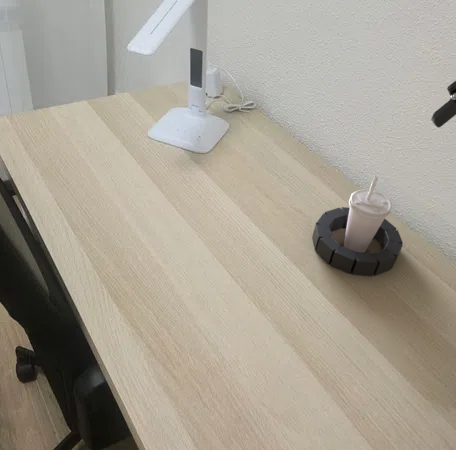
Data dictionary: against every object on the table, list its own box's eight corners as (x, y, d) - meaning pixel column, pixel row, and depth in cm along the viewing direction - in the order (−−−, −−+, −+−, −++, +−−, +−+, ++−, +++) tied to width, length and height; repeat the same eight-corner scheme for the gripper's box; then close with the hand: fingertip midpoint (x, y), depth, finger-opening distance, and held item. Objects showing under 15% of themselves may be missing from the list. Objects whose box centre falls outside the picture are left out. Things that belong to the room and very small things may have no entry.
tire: (405, 240, 94) (411, 227, 92) (381, 288, 86) (387, 274, 84) (330, 210, 100) (334, 197, 98) (300, 252, 91) (303, 239, 89)
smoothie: (347, 228, 96) (369, 162, 87) (381, 246, 93) (408, 179, 84) (328, 246, 93) (350, 178, 84) (363, 265, 89) (389, 197, 80)
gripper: (512, 17, 76) (413, 100, 81) (598, 59, 66) (478, 151, 71) (526, 51, 81) (431, 127, 86) (609, 95, 70) (495, 180, 75)
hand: (452, 138), depth 78 cm, fingers open, 8 cm apart
